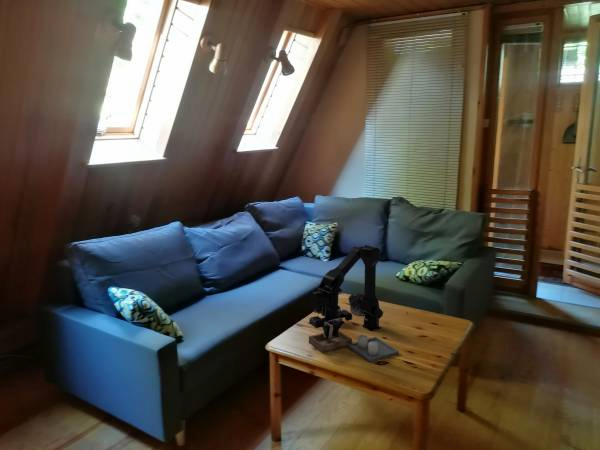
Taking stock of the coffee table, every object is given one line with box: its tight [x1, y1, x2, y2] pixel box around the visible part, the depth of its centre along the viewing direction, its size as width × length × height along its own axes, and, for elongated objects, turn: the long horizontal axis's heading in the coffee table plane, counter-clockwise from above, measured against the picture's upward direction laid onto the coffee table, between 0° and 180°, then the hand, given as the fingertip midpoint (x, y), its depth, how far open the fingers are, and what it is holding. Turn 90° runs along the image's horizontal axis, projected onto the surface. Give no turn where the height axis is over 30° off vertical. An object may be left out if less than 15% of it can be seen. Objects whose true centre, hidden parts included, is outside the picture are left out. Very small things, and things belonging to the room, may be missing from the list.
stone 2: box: [357, 334, 369, 349], centre depth 195 cm, size 4×4×4 cm
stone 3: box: [368, 342, 378, 356], centre depth 189 cm, size 4×4×4 cm
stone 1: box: [322, 324, 333, 338], centre depth 200 cm, size 4×4×4 cm
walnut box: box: [308, 329, 353, 354], centre depth 199 cm, size 15×11×3 cm
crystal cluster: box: [348, 293, 366, 317], centre depth 235 cm, size 13×14×10 cm
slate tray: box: [347, 336, 400, 364], centre depth 194 cm, size 15×15×1 cm
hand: (330, 337), depth 198 cm, fingers closed on stone 1, 3 cm apart
